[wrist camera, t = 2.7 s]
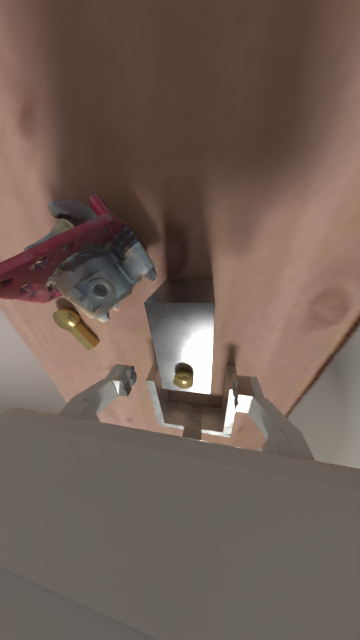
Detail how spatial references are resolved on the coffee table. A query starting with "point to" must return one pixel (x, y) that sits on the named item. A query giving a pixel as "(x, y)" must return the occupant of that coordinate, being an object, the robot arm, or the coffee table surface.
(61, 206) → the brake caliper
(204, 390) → the block
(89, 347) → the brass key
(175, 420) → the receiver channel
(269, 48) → the coffee table surface
